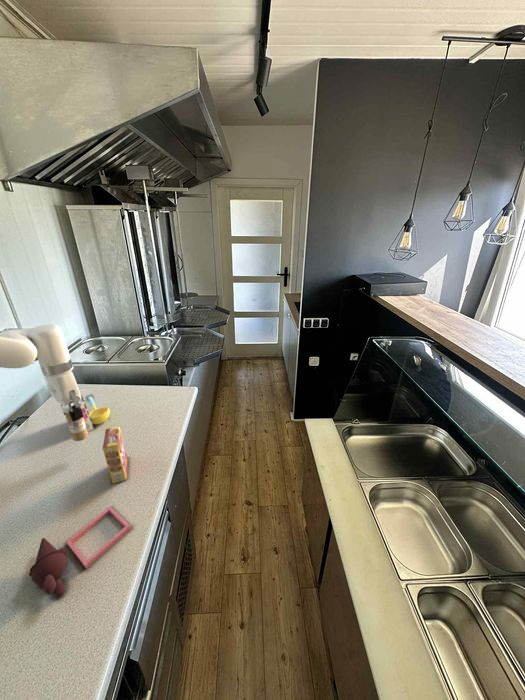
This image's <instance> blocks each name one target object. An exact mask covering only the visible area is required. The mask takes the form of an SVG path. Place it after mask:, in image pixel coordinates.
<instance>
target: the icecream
mask: <svg viewBox="0 0 525 700" xmlns="http://www.w3.org/2000/svg"><path fill="white" fill-rule="evenodd" d="M67 554H68V553H67V550H65V548H64V547H61V548H58V549H57V548H56V547H55V546H54V545H52V544H51V542H49V540H47V538H45V537H42V538H41V540H40V543H39V548H38V551H37V555H36V559H35V563H34V564H33V565H32V566H31V567H30V569H29V572H28V576H29V577H31V581H32V582H33V583H34V584H35V585H37V586H38V587H39V588H40V590H44V592H45V595H46V594H47V595H51V594H52V593H53V592H54V593H55V596H56V598H58V599H59V598H62V597H63V596H64V595H65V589H66V588H65V587H66V586H65V584H64V583H63V581H62V580H61V577H62V576H63V573H64V572H65V570H66V568H67V563H68V562H67Z"/></svg>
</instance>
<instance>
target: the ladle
mask: <svg viewBox="0 0 525 700" xmlns="http://www.w3.org/2000/svg"><path fill="white" fill-rule="evenodd" d="M87 400H88V402H89V404H90V407H92V411H90V412H89V415H90V418H91V420H92V423H93V425H101V424H103V423H104V422H106V421H107V420H108V418H109V417H110V411H111V410H110V407H109V406H102V407H99V408H97V407H96V403H95V401H94V399H93V397H92V396H91V395H90V396H88V397H87Z"/></svg>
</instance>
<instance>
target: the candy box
mask: <svg viewBox="0 0 525 700" xmlns="http://www.w3.org/2000/svg"><path fill="white" fill-rule="evenodd" d="M104 432H105V433H104V437H103V444H102V450H103V454H104V456H105V461H106V465H107V469H108V471H109V475H110V478H111V481H112V484H116V483H120V482H123V481H126V480H127V477H128V463H129V459H128V455H127V450H126V446H125V443H124V439H123V435H122V431H121V427H120V426H113V427H109V428H105V431H104Z"/></svg>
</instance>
